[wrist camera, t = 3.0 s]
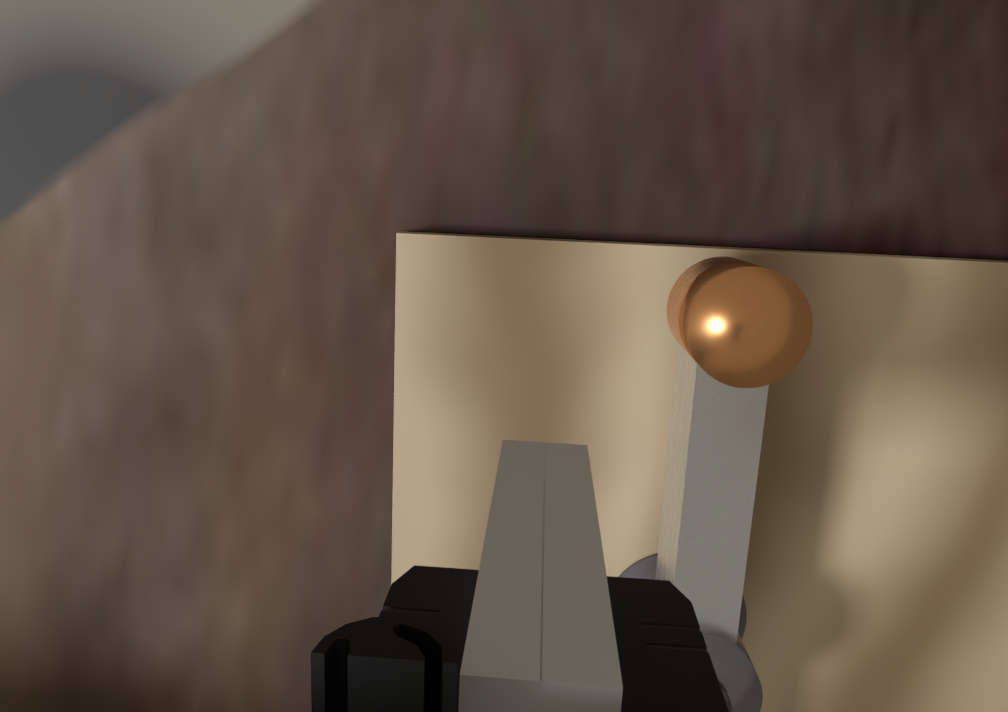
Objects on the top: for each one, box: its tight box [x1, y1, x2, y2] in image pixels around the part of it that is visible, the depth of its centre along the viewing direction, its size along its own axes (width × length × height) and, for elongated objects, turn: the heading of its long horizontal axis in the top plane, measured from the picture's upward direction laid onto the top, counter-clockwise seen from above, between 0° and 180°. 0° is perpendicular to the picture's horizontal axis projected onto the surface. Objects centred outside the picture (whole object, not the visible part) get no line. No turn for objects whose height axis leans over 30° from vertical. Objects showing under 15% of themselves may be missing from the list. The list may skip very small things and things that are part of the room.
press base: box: [391, 231, 1008, 712], centre depth 22 cm, size 20×16×5 cm
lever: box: [655, 256, 813, 712], centre depth 20 cm, size 3×16×4 cm, turn 178°
